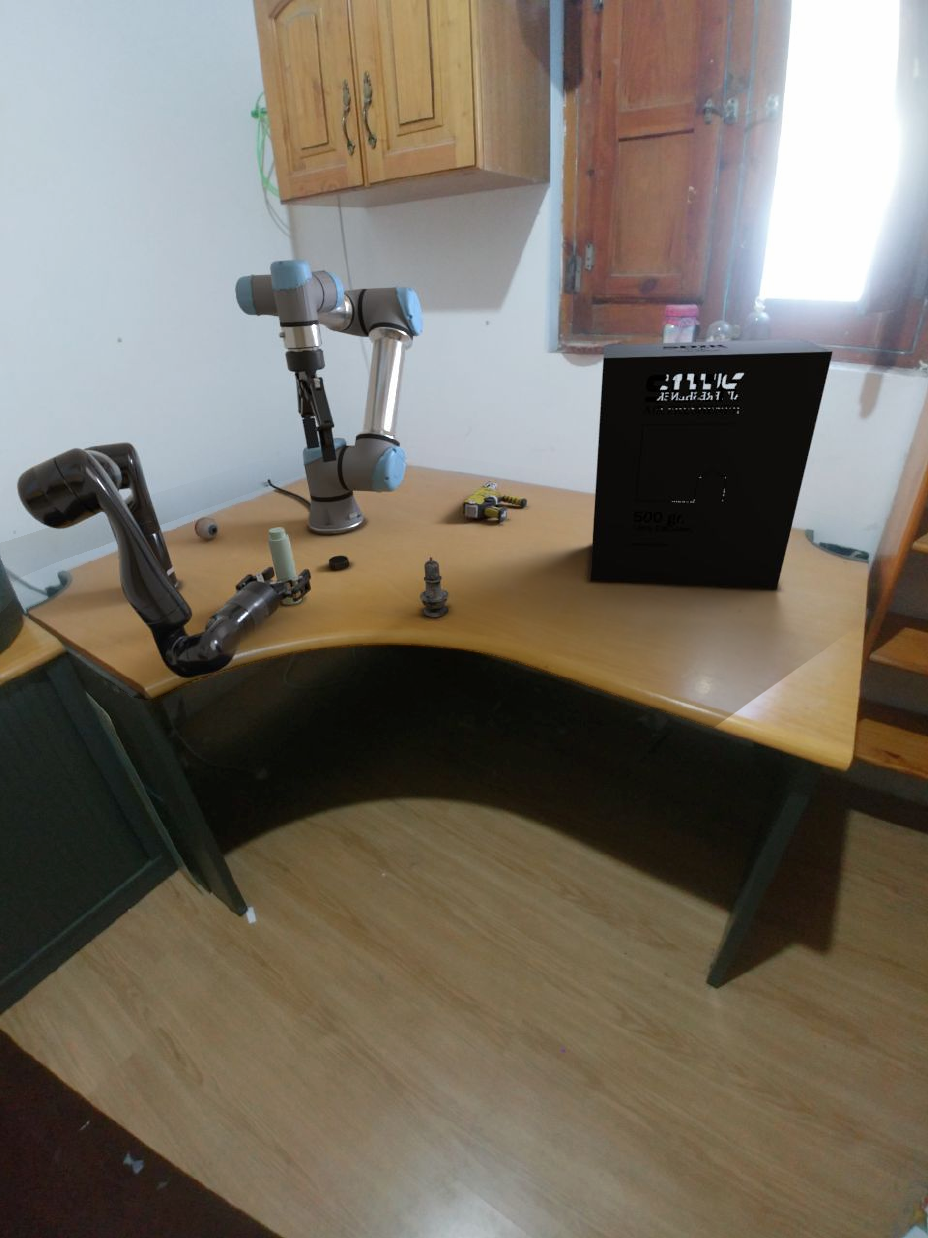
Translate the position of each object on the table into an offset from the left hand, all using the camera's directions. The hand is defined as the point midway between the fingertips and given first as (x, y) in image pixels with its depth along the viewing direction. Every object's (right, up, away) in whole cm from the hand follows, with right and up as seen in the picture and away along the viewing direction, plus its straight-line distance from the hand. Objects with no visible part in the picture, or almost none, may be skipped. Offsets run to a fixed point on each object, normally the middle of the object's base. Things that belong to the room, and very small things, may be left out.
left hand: (290, 571), depth 129 cm
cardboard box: (+85, +2, +7) cm, 86 cm away
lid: (+7, +4, +15) cm, 17 cm away
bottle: (0, -6, +2) cm, 6 cm away
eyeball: (-32, +12, +36) cm, 49 cm away
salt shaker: (+32, -9, -6) cm, 33 cm away
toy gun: (+48, +22, +45) cm, 69 cm away
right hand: (+6, +26, +3) cm, 27 cm away
